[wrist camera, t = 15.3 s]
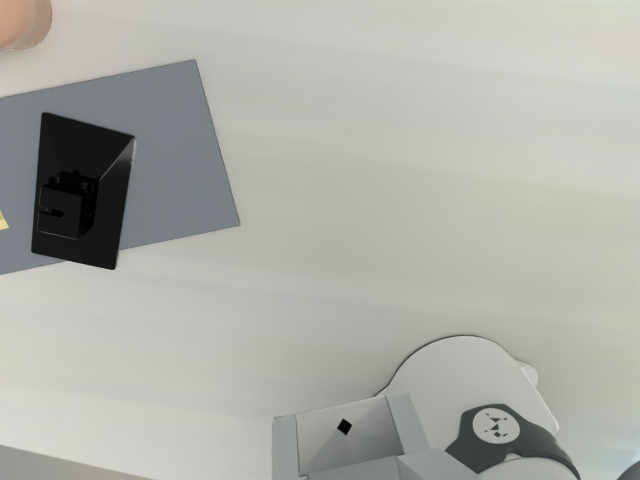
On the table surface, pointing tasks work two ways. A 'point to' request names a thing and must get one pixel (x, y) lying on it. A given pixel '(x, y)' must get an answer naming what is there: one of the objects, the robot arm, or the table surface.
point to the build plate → (81, 190)
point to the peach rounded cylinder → (24, 22)
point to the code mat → (146, 174)
